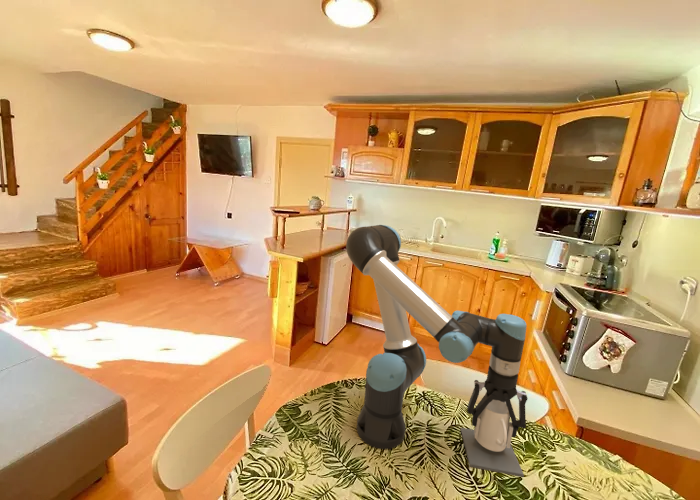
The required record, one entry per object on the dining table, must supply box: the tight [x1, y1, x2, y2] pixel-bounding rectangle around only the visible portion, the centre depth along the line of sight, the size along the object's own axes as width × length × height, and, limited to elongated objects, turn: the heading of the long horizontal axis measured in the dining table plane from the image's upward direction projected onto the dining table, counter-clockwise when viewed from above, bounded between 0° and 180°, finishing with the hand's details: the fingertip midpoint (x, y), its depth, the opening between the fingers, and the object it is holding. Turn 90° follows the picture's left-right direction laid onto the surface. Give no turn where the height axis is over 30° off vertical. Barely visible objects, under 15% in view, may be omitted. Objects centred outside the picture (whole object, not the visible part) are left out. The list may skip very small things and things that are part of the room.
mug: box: [476, 400, 511, 452], centre depth 90 cm, size 12×8×12 cm
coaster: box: [460, 427, 525, 478], centre depth 92 cm, size 14×14×1 cm
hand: (491, 439), depth 91 cm, fingers closed on mug, 8 cm apart
